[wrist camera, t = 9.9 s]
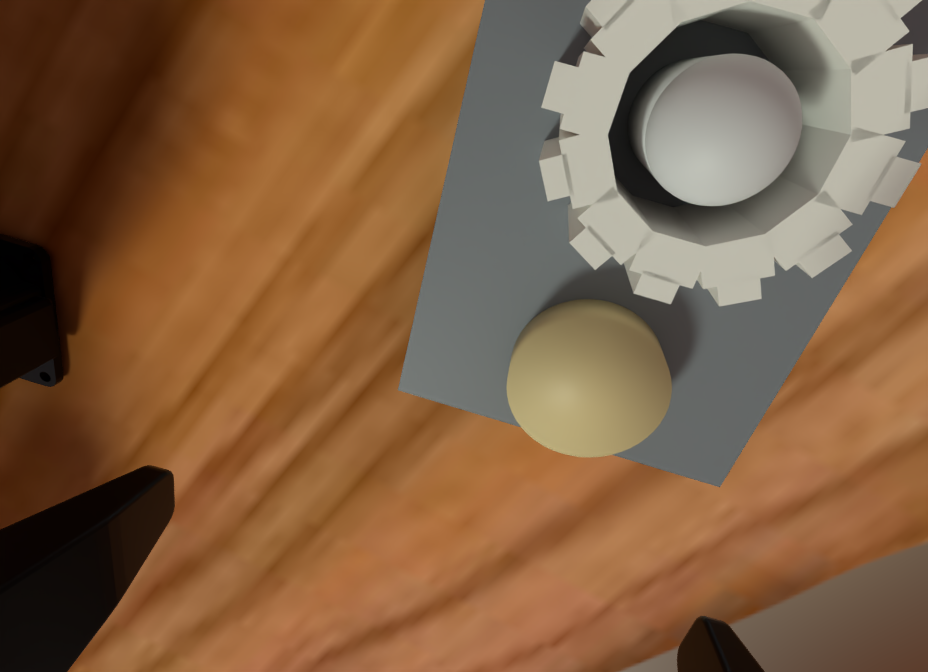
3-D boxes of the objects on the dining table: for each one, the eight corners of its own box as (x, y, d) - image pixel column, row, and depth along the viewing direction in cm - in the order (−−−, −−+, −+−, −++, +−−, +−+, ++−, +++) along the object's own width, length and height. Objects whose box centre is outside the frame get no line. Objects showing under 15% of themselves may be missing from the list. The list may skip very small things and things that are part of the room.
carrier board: (408, 370, 21) (350, 481, 15) (516, -103, 14) (486, -221, 9) (709, 460, 21) (766, 609, 15) (968, 17, 14) (1256, -24, 8)
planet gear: (512, 215, 16) (498, 253, 13) (600, -86, 13) (614, -146, 10) (754, 285, 16) (809, 345, 13) (909, -3, 13) (1042, -32, 9)
